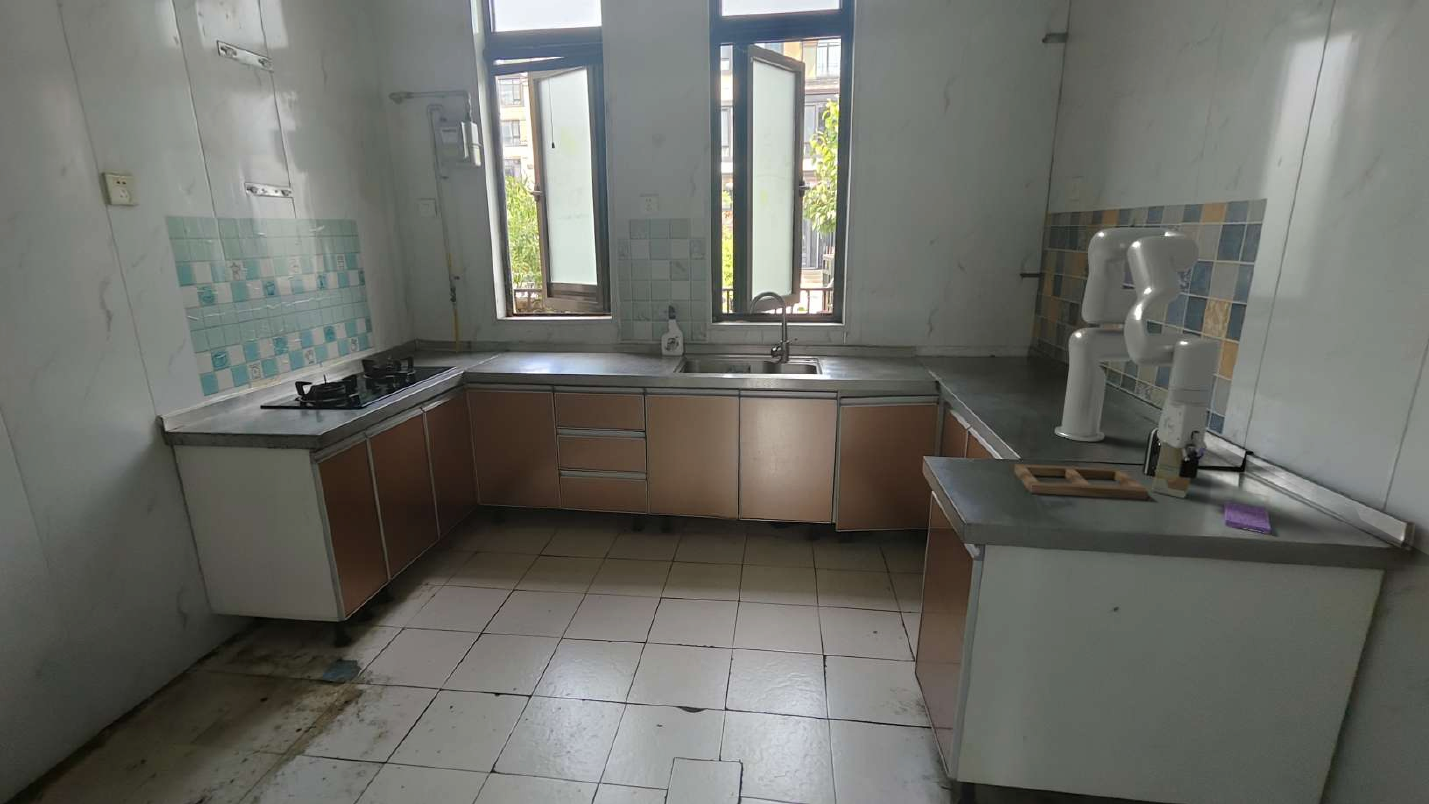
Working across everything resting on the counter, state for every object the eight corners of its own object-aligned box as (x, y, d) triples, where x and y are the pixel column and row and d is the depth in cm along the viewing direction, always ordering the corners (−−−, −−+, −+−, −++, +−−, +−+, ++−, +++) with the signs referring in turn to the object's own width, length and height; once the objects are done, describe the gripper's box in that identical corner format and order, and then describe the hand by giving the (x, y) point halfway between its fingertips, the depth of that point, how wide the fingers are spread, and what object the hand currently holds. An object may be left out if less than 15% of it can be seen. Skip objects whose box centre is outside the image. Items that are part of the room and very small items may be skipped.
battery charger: (1158, 478, 152) (1166, 433, 149) (1141, 473, 155) (1148, 429, 152) (1171, 472, 155) (1179, 428, 153) (1153, 468, 158) (1161, 424, 156)
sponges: (1223, 527, 127) (1225, 519, 126) (1223, 507, 136) (1224, 499, 136) (1269, 537, 123) (1271, 528, 122) (1265, 515, 132) (1267, 506, 132)
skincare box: (1151, 491, 144) (1160, 440, 141) (1154, 486, 147) (1163, 436, 144) (1185, 499, 139) (1195, 446, 136) (1188, 493, 143) (1198, 442, 139)
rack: (1013, 471, 157) (1014, 463, 156) (1118, 476, 153) (1120, 468, 152) (1030, 492, 144) (1031, 484, 143) (1146, 499, 140) (1148, 490, 139)
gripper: (1149, 386, 146) (1138, 457, 150) (1190, 404, 130) (1177, 482, 134) (1185, 387, 145) (1173, 458, 149) (1231, 405, 128) (1216, 484, 132)
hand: (1175, 469), depth 141 cm, fingers open, 9 cm apart
